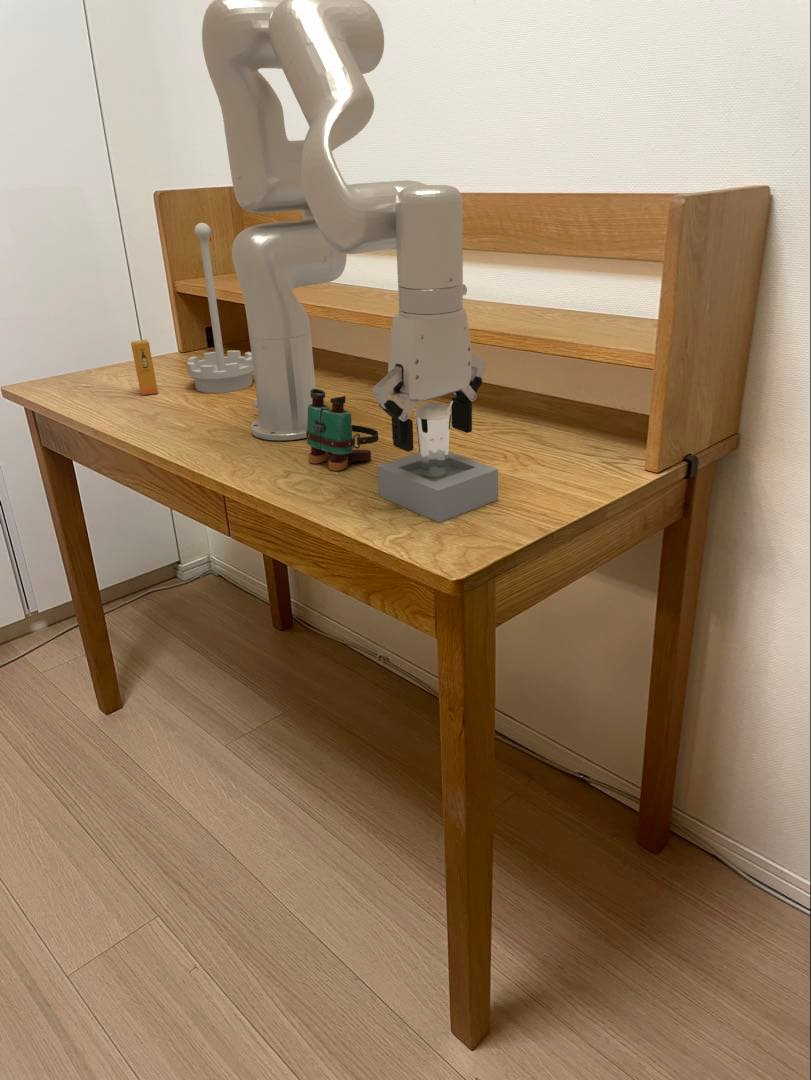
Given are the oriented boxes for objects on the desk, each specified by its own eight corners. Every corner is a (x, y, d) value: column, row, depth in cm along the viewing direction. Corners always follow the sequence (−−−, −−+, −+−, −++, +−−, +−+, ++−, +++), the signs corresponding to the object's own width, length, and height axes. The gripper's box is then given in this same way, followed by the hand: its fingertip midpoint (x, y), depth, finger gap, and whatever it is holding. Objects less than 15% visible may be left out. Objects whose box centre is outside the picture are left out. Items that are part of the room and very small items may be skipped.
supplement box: (157, 389, 164) (148, 338, 160) (158, 394, 161) (149, 341, 157) (139, 391, 164) (130, 340, 159) (140, 396, 161) (130, 343, 156)
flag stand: (257, 391, 160) (237, 223, 147) (187, 396, 159) (161, 228, 146) (257, 374, 172) (239, 217, 159) (193, 379, 170) (168, 222, 158)
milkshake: (441, 483, 105) (440, 405, 100) (409, 474, 108) (406, 398, 104) (464, 473, 108) (463, 396, 103) (432, 464, 111) (430, 390, 107)
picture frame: (378, 495, 110) (376, 465, 109) (436, 475, 116) (435, 447, 114) (439, 522, 102) (438, 490, 100) (498, 499, 107) (498, 469, 106)
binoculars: (388, 391, 120) (334, 400, 114) (387, 462, 124) (334, 475, 118) (347, 381, 126) (294, 389, 120) (347, 449, 130) (295, 461, 123)
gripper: (463, 286, 106) (463, 417, 113) (351, 307, 96) (360, 448, 104) (506, 293, 100) (503, 430, 108) (392, 316, 91) (398, 464, 99)
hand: (433, 439), depth 106 cm, fingers open, 9 cm apart
